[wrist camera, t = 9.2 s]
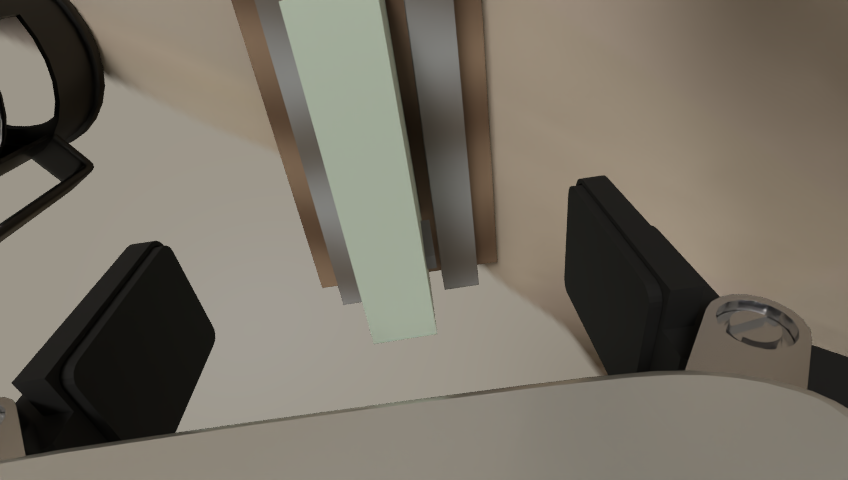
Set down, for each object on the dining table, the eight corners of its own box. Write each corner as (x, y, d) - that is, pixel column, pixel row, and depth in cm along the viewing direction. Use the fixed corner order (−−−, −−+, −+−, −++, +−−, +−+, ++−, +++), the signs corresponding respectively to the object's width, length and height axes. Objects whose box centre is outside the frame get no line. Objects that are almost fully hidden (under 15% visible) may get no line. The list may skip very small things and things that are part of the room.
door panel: (324, -17, 20) (278, 1, 12) (389, -28, 20) (391, -18, 12) (377, 219, 26) (373, 344, 18) (427, 211, 26) (447, 332, 18)
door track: (204, -108, 19) (176, -118, 16) (468, -150, 19) (480, -167, 16) (324, 278, 29) (318, 308, 27) (494, 252, 29) (504, 280, 27)
